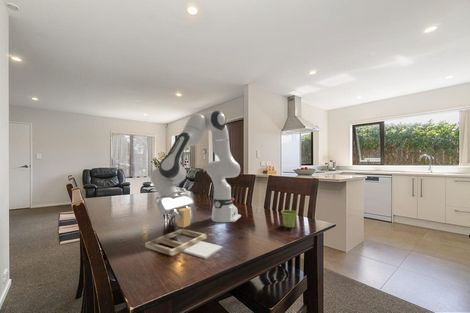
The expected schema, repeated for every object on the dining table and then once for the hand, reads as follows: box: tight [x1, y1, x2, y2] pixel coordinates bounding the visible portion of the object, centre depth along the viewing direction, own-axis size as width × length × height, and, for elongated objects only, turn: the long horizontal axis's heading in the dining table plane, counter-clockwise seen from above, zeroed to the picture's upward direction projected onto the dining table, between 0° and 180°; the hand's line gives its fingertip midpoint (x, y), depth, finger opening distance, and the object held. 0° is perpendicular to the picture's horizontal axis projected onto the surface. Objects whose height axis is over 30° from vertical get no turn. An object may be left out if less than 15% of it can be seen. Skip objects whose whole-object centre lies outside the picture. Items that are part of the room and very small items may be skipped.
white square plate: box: [182, 240, 223, 260], centre depth 93 cm, size 12×12×1 cm
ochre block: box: [176, 208, 191, 228], centre depth 105 cm, size 4×4×8 cm
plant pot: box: [280, 209, 298, 229], centre depth 127 cm, size 9×9×9 cm
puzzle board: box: [144, 228, 208, 256], centre depth 101 cm, size 23×17×2 cm
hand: (184, 216), depth 105 cm, fingers closed on ochre block, 4 cm apart
